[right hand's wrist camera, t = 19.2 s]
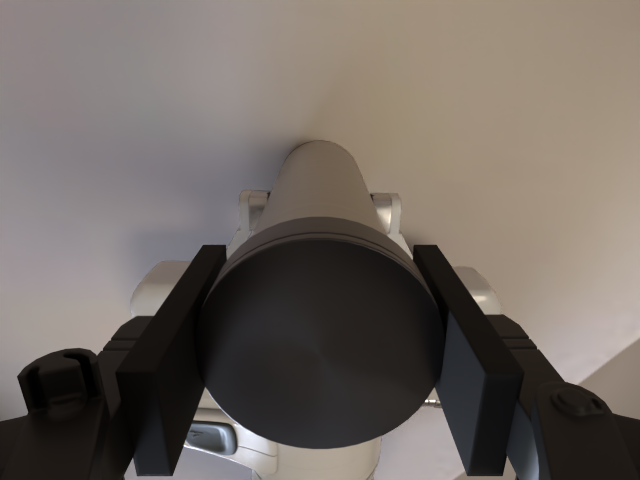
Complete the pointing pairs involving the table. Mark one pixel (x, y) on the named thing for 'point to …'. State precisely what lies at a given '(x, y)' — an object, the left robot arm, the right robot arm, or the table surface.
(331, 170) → the bottle
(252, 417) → the lid
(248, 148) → the table surface
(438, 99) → the table surface
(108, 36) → the table surface
